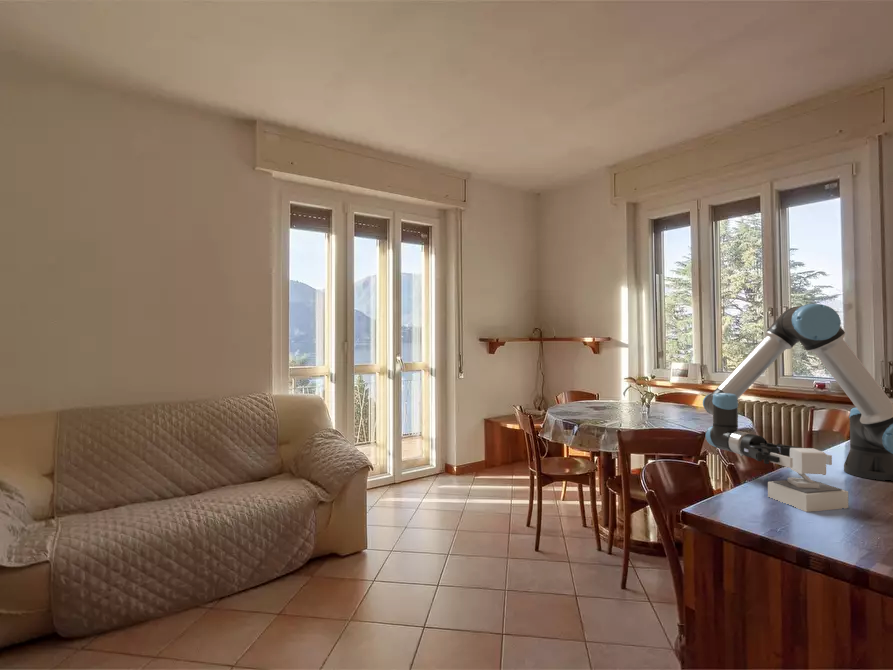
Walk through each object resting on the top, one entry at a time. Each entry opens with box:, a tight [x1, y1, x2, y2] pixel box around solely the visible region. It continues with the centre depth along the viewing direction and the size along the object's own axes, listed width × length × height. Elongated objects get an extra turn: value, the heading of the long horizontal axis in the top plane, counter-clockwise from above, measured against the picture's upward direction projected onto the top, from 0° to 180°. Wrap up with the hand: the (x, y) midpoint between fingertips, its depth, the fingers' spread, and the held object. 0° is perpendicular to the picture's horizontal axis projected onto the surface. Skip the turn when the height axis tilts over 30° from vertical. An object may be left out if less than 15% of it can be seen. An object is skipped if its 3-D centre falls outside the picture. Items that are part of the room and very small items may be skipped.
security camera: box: [787, 447, 827, 488], centre depth 135 cm, size 6×7×10 cm
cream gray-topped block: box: [767, 479, 849, 513], centre depth 135 cm, size 14×12×5 cm
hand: (811, 461), depth 134 cm, fingers open, 13 cm apart
